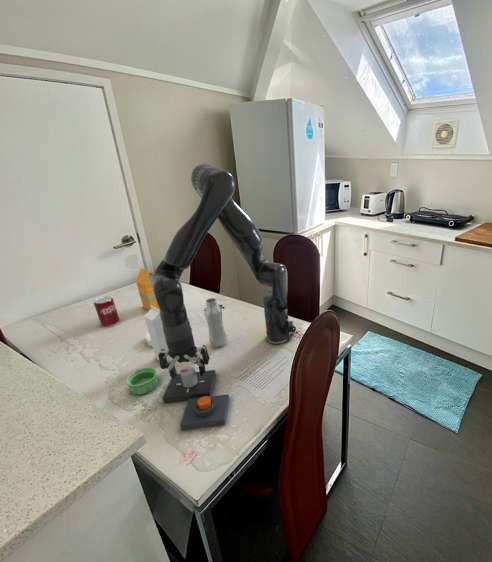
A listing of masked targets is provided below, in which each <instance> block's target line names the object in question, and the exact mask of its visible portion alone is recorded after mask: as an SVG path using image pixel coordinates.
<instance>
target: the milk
mask: <svg viewBox="0 0 492 562" xmlns="http://www.w3.org/2000/svg"><path fill="white" fill-rule="evenodd" d="M150 306H151V309H150V310H147V312H146V313H145V314H144V315H143V317H144V321H145V324H146V327H147V333H148V332H149V335H150V339H151V342H152V346H153V347H152V349H153V352H154V356H155V359H156V360H157V361H159V356H158V355H159V353H160V351H161V349H164V350H165V351H169V350H168V347H167V343H166V339H165V336H164V332H163V325H162V321H161V317H160V312H159V309H157V308H155V307H154V306H152V305H150ZM166 358H167V363H170V362H171V361H172V359H173V358H171V357H170V356H169V355H167V357H166Z"/></svg>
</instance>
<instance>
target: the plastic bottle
mask: <svg viewBox="0 0 492 562" xmlns="http://www.w3.org/2000/svg"><path fill="white" fill-rule="evenodd" d="M205 306H206V308H205V309H204V313H203V315H204V317H205V320H206V323H207V327H208V334H209V335H208V337H209V343H210V345H211V346H213V347H222V346H225V344H226V343H227V341H228V336H227V333H226V332H225V331H226V330H225V328H224V324H223V323H224V322H223V311H222V309H221V307H220V306H219V305H218V302H217V298H214V297H210V298H207V299H206V300H205Z"/></svg>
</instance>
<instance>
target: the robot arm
mask: <svg viewBox="0 0 492 562" xmlns="http://www.w3.org/2000/svg"><path fill="white" fill-rule="evenodd" d="M192 169H193V170H192V171H191V174H190V182H191V185H192V189H193V190H194V191H195V193H196V194H197V195H198V196H199V198H201V199H200V201H199V204H198V206H197V208H196V209H195V211H194V213H193V214H192V215H191V216H190V218H189V219H188V220H187V221H186V222H185V223H183V225H181V226H180V228H179V229H177V231H176V232H175V234H174V236H173V238H172V239H171V241H170V244H169V245H168V248H167V250H166V252H165V254H164V257H163V258H162V260H161V261H160V263H158V266H157V267H156V268H155V270H154V272H153V273H152V274H153V277H152V280H151V284H152V288H153V291H154V294H155V297H156V300H157V303H158V306H159V312H160V317H161V321H162V325H163V332H164V336H165V339H166V343H167V347H168V350H169V351H165V350H164V349H161V351H160V353H159V355H158V356H159V360H158V361H159V366H160V369H161V370H165V369H167V370H168V373H169V377H170V378H173V379H175V378H176V376H177V374H178V372H177V369H176V364H177V363H179V364H181V363H190V362H191V363H192V364H195V365H196V366H198V370H199V371H198V372H200V376H203V374H204V373H205V371H207V369H206V366H207V365H209V363H210V362H209V361H210V359H211V358H210V354H209V351H208V348H207V346H206V344H203V345H201V346H199V347H197V346H196V344H195V343H196V342H195V339H194V336H193V335H194V334H193V329H192V327H191V322H190V321H189V317H188V313H187V309H186V305H185V301H184V291H183V288H182V284H181V281H180V279H181V277H182V275H183V273H184V272H185V270H188V269H189V268H190V266H191V265H192V263H193V261H194V259H195V257H196V255H197V253H198V251H199V248H200V246H201V245H202V242H203V240H204V239H205V237H206V235H207V234H208V232H209V230H210V229H211V228H212V226H213V225H214V224H215V222H216V220H218V221H219V223H220V225H221V226H222V228H223V230H224V231H225V233H226V234H227V235H228V237H229V239H230V241H232V243H233V244H234V246H235V247H236V249H237V250H238V251H239V253H240V255H242V257H243V258H244V260H245V261H246V263H247V265H248V267H249V268H250V270H251V272H252V274H253V276H254V278H255V280H256V281H257V283H259V284H260V285H263V286H266V287H271V288H272V290H269V291H267V292H265V293H264V294H263V296H262V301H263V302H262V303H263V311H264V312H263V313H264V320H265V333H266V341H267V342H268V343H269V344H272V345H281V344H285V343H286V342H290V340H291V338H290V337H291V336H290V335H291V334H290V333H292V334H294V333H295V332H296V330H297V327H296V326H294V321H293V320H291V321H290V320H289V312H288V292H289V290H288V289H289V287H288V285H289V284H288V283H289V281H288V280H289V279H288V277H289V276H288V275H289V274H288V270H287V267H286V265H284V263H283V264H282V263H277V262H272V261H269V260H267V259H266V258H265V256H264V254H263V252H262V250H263V243H264V240H263V236H262V233H261V232H260V230H259V228H258V227H257V225H256V223H255V222H254V221H253V219H252V217H250V216H249V215H248V214H247V213H246V212H245V210H243V208H241V206H239V205H238V203H236V201H235V200H234V198H233V196H234V193H235V190H236V182H235V179H234V176H233V175H232V174H231V173H230V172H229V171H227V170H225V169H223V168H221V167H218V166H215V165H213V164H208V163H201V164H198V165H196V166H195V167H194V168H192ZM167 355H169V356H170V357H171V358H173V359H172V361H170V362H168V363H167V358H166V357H167ZM200 355H201V356H200Z"/></svg>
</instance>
